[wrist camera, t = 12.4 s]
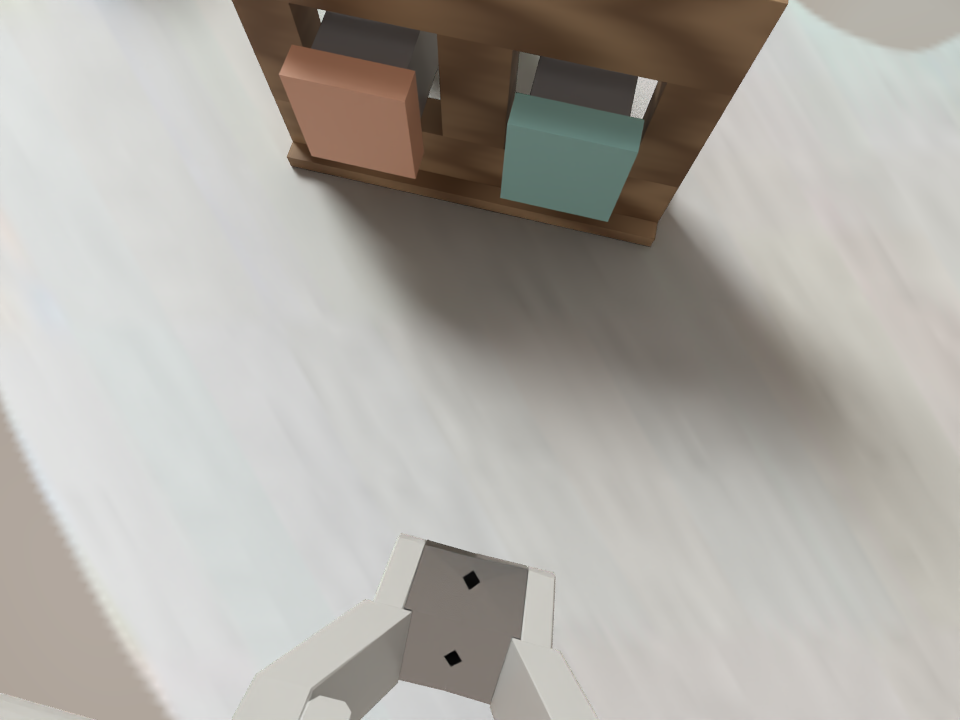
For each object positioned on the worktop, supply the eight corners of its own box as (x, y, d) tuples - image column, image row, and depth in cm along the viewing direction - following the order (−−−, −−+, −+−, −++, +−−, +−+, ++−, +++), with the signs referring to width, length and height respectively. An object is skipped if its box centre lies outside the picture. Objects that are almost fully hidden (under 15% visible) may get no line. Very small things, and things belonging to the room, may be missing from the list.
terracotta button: (458, 45, 30) (456, -51, 25) (415, 179, 27) (404, 101, 22) (362, 24, 30) (342, -75, 25) (311, 155, 28) (279, 74, 23)
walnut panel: (663, 168, 33) (798, -88, 20) (650, 246, 32) (784, 28, 18) (319, 93, 34) (224, -199, 21) (291, 165, 33) (168, -98, 19)
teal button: (635, 82, 29) (669, -9, 24) (607, 221, 27) (638, 152, 22) (536, 61, 29) (550, -32, 25) (500, 197, 27) (507, 124, 22)
